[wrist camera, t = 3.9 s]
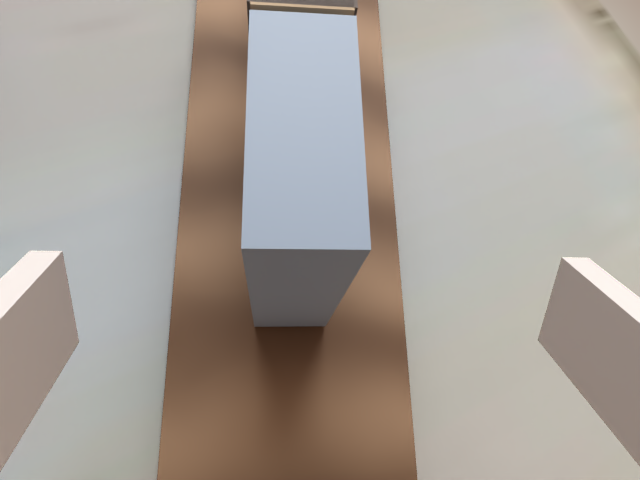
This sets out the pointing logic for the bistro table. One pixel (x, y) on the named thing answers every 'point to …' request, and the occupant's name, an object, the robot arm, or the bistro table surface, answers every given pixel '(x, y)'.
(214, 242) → the l-shaped wooden stand
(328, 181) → the pale blue rectangular block
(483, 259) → the bistro table surface
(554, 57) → the bistro table surface
